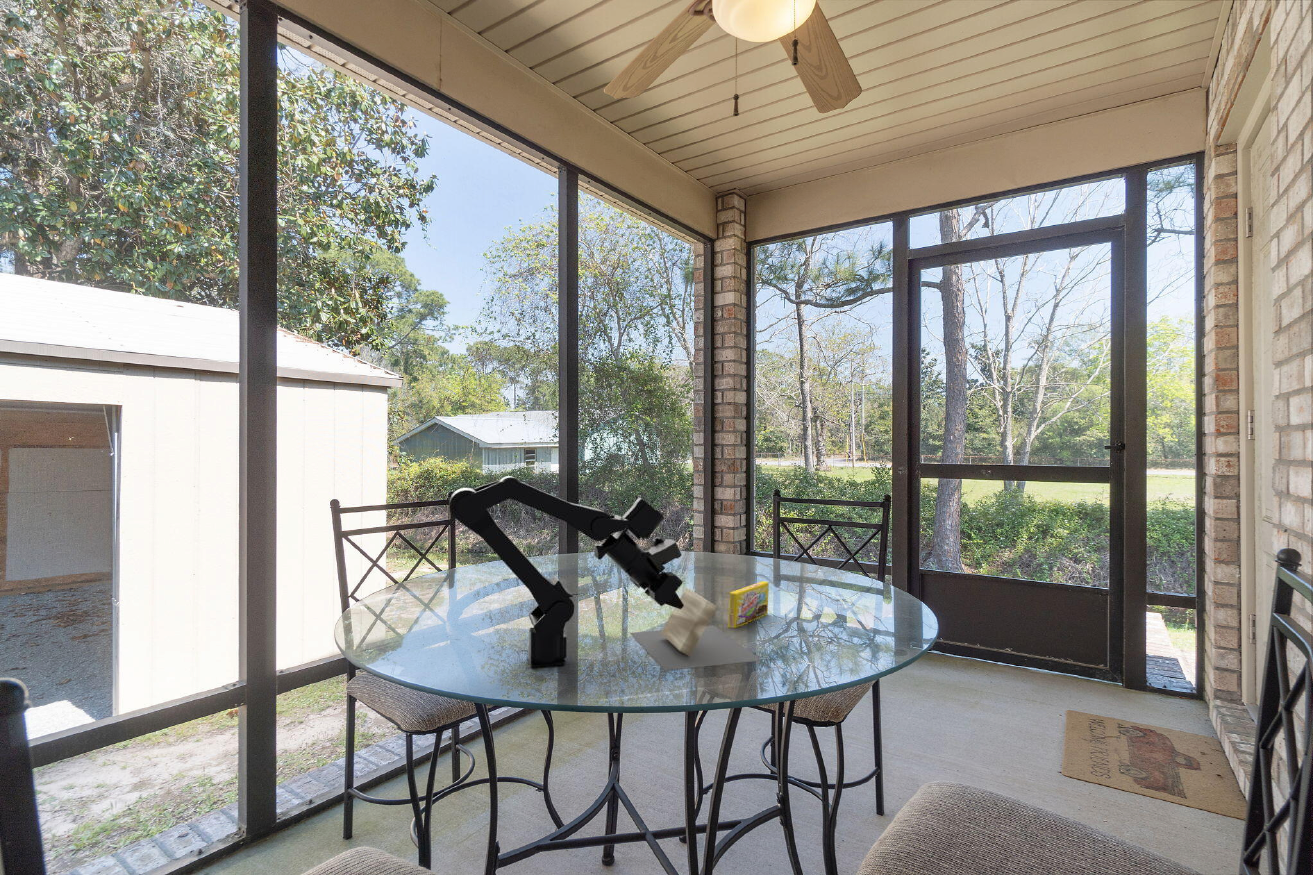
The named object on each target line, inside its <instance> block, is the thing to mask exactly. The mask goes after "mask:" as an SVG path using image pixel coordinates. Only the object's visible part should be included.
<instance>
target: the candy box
mask: <svg viewBox="0 0 1313 875" xmlns="http://www.w3.org/2000/svg"><path fill="white" fill-rule="evenodd" d="M769 584H770V582H768V581H765V580H762V581H759V582H757V583H754V584H750V585H747V586H745V587H742V588H740V589H736V590H733V591H730V592H729V604H728V606H729V607H728V625H727V626H728V628H732V629H736V628H738V627H740V626H741V627H743V626H745V625H748V624H749V623H748V622H750V623H752V622H753V621H752V620H754V621H756V620H758V619H761V618H763V617H765V616H767V615H768V613H769V611H768V610H769V591H770V590H769ZM764 615H765V616H764ZM760 617H761V618H760ZM755 619H756V620H755ZM751 621H752V622H751ZM744 624H745V625H744Z"/></svg>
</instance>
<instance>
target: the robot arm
mask: <svg viewBox="0 0 1313 875" xmlns="http://www.w3.org/2000/svg"><path fill="white" fill-rule="evenodd" d="M508 500H513V501H516V502H518V503H521V504H523V505H524V506H525V505H526V506H528V507H530V508H532V509H535V510H537V511H539V512H542V513H544V514H546V515H548V516H551V517H554V518H556V519H559V520H561V521H564V522H565V523H566V524H568V525H570V526H571V527H573V528H574V529H576V530H577V531H579V532H580V533H581V534H584V535H585V536H587V537H588V538H590V539H591V540H593V541H597V542H601V541H602V542H601V543H594V545H593V546H594V557H595V558H596V559H598V560H600V561H601V560H602V559H603V558H604V557H605V555H607V557H609V558H610V559H611V561H613V562H614V563H615V564H616V565H617V566H618V567H619V568H620V569H621V571H623V572H624V573H625V574H627V576H629V581H630V582H631V583H632V584H633V585H634V587H636V588H638V589H640V588H641V589H643V591H644V594H646V595H647V596H649V597H650V598H651V599H652V600H653V601H655V603H657V604H658V605H659V606H660V607H662V606H665V605H668V606H670V607H673V608H678V609H682V608H683V606H684V605H683V603H682V601H681V600H680V598H681V597H679V595H678V594H677V591H678V589H680V587H681V586H682V585H683V580H682V579H681V578H680V577H678V576H677V574H675V573H674V572H672V571H664V570H665V569H666V567H665V566H664V565H666V564H668V563H670V562H671V561H674V560H676V559H679V558H681V557H682V552H681V550H680V548H679V545H678V543H677V541H676V540H673V539H672V538H665V539H663V538H661V537H659V536H655V538H653V539H652V540H651V541H652V542H651V546H650V549H648V550H645V548H643V547H642V546H640V545H639V544H638V543H637V542H636V541H635V540H634V539H633V537H634V538H635V539H636V540H637V541H640V540H641V539H642V540H648V538H649V537H650V536H651V535H652V534H653V533H654V532H655V531H656V530H657V529H658V528H659V526H660V525H661V524H662V523H663V522H664V521H665V520H666V519H665V517H664V515H662V513H661V512H660V511H659V510H658V509H657V508H654V507H653V506H652V505H650V504H649V503H648V502H647V501H646V500H644V498H641V497H638V498H637V499H636V500H635V501H634V503H633V505H632V506H631V507H630V508H629V509H628V510H627V511H626V512H625V513H624V514H623V515H622V516H621V515H618V514H615V515H613V514H609V513H607V512H606V511H603V510H601V509H600V508H597V507H591V506H587V505H583V504H577V503H574V502H573V503H572V502H569V501H566V500H564V499H561V498H559V497H557V496H555V495H552V494H550V493H548V492H545V491H543V490H541V489H539V488H536V487H534V486H531V485H530V484H527V483H525V482H522V481H520V480H518V479H517V478H516V477H514V476H511V475H510V476H508V475H506V476H504V477H502V478H501V479H499V480H496V481H493V482H489V483H487V484H486V483H485V484H483V485H480V486H478V487H475V488H470V487H461V488H459V489H456V490H455V491H454V492H453V493H452V494H451V495H450V498H449V503H448V504H449V511H450V514H451V516H452V517H453V518H454V519H455V520H457V521H458V522H459V523H461V524H462V525H463V526H465V527H466V528H467V529H469V530H470V531H471V532H473V533H474V534H476V535H477V536H479V537H480V538H481V539H482V540H483V541H484V542H485V543H486V544H487V545H488V546H489V547H490V549H492V551H493V552H494V553H495V554H496V555H497V556H498V557H499V559H501V560H502V562H503V563H504V564H505V565H506V566H507V567H508V568H509V569H510V571H512V573H513V574H514V575H515V576H516V577H517V578H518V579H519V580H520V582H521V583H522V584H523V585H524V586H525V587H526V588H527V589H528V591H529V592H530V594H531V595H532V597H533V599H534V601H535V602H536V604H537V605H536V606H535V607H534V608H533V609H532V610H531V611H530V612H529V613H528V617H529V620H530V623H531V625H532V626H533V627H529V628H528V654H527V661H528V664H529V666H530V668H532V669H533V668H534V669H535V668H544V667H545V668H546V667H555V666H564V665H566V659H567V654H568V653H567V648H568V647H567V645H568V643H567V640H568V639H567V636H566V634H565V628H566V627H565V626H566V623H567V622H569V621H570V620H571V619H572V617H573V615H574V613H575V603H574V602H573V600H572V598H573V597H574V596H573V594H572V593H571V592H570V590H569V589H568V587H567V586H564V585H563V584H562V583H561V581H560V580H559V578H558V577H557V576H556V575H555V574H553V575H552V576H551V578H548V577H546V576H545V575H544V574H542V572H540V571H539V569H538V568H537V567H536V566H535V564H533V563H532V562H531V560H529V558H528V557H527V556H526V555H525V554H524V553H523V551H521V549H520V548H519V547H518V546H517V545H516V544H515V543H514V541H513V540H512V539H511V538H510V537H509V536H508V534H507V533H506V532H505V531H504V530H503V529H502V528H501V527H500V526H499V524H497V522H496V521H495V520H494V518H493V515H491V512H490V511H489V509H490V508H492V507H495V506H496V505H499V504H501V503H503V502H505V501H508ZM627 532H628V533H630V534H631V536H633V537H631V536H630V535H629V534H628V533H627Z"/></svg>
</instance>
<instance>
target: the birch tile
mask: <svg viewBox="0 0 1313 875" xmlns="http://www.w3.org/2000/svg"><path fill="white" fill-rule="evenodd" d="M679 598H680V600H681V601H682V603H683V605H684V606H683V608H682V609H678V608H675V607H673V610H672V611H671V614H670V615H669V617H668V618H667V621H666V622H665V623H664V626H663V627H662V629H661V630H662V631H661V634H662V635H663V636H664V637H665V638H667V639H668V640H669V641H670V642H671V643H672V644H673V645H674V646H675V647H676V648H677V649H678V650H679V651H681V652H683V653H685V654H686V655H688V656H690V655H691V653H692V651H693V650H694V648H695V646H696V644H697V642H698V641H699V639H700V637H701V635H702V633H703V632H704V630H705V628H706V626H709V622H710V621H711V620H712V617H713V615H714V613H715V612H716V610H717V608H718V606H717V605H715V604H714V603H712V602H711V601H709V600H707V599H706V598H704V597H702V596H701V595H700V594H698V593H696V592H695V591H693V590H691V588H690V589H689V588H688V587H685V589H684V591H683V593H682V594H681V596H680V597H679Z"/></svg>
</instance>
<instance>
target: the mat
mask: <svg viewBox="0 0 1313 875" xmlns="http://www.w3.org/2000/svg"><path fill="white" fill-rule="evenodd" d="M661 631H662V629H658V630H656V629H655V630H649V631H648V630H647V631H635V632H629V634H630V635H631V636H632V638H634V640H635V641H636V642H637V643H638V644H639V645H640V646H641V647H642V648H643V649H644V650H645V651H646V653H647V654H648V655H649V656H650V657H651V658H652V659H653V661H655V663H656V664H658V666H660V668H661V669H662V670H663V671H664V672H669V671H679V670H687V669H688V670H689V669H695V668H704V667H714V666H722V665H732V664H742V663H750V662H759V661H762V659H761V657H759V656H757V655H755V654H754V653H753V652H752V651H750V650H749V649H747V648H746V647H745V646H743V645H742V644H741V643H739V642H738V641H736V640H734V639H733V638H732V637H730V636H729V635H728V634H726V633H725V632H724V631H722V630H721V629H719V628H718V627H716V626H715V625H707V626H706V628H705V630H704V632H703V633H702V635H701V637H700V639H699V641H698V642H697V644H696V646H695V648H694V650H693V651H692V653H691V655H690V656H688V655H686V654H685V653H683V652H681V651H679V650H678V649H677V648H676V647H675V646H674V645H673V644H672V643H671V642H670V641H669V640H668V639H667V638H665V637H664V636H663V635H662V634H661Z"/></svg>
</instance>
